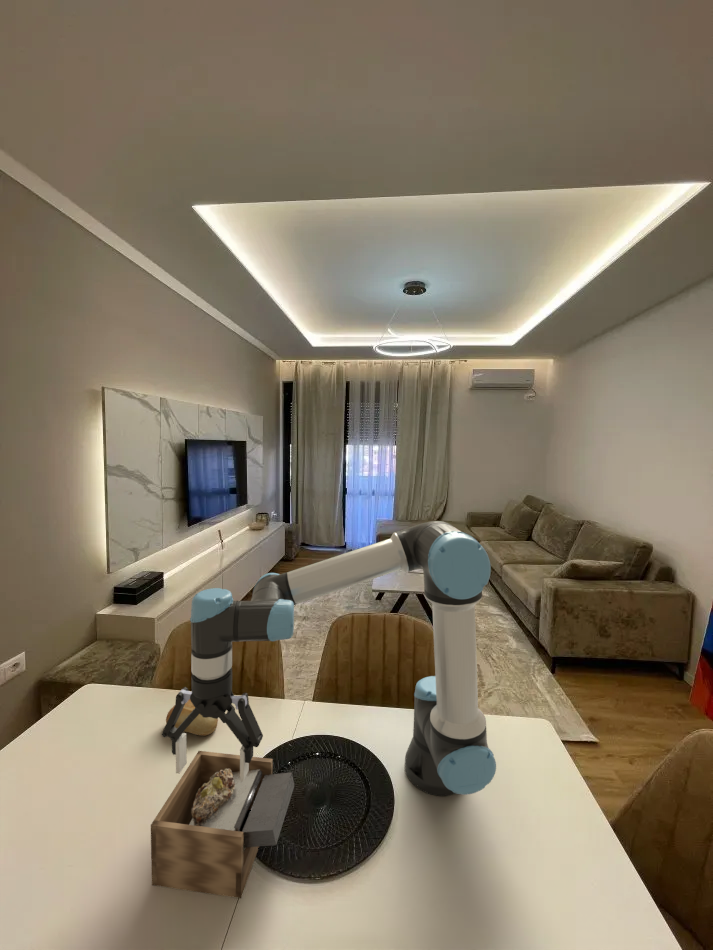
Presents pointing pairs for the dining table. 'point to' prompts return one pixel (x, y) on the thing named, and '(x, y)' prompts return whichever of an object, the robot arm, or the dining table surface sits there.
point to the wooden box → (201, 835)
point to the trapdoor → (254, 808)
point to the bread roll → (195, 721)
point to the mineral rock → (213, 794)
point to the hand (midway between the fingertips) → (212, 771)
